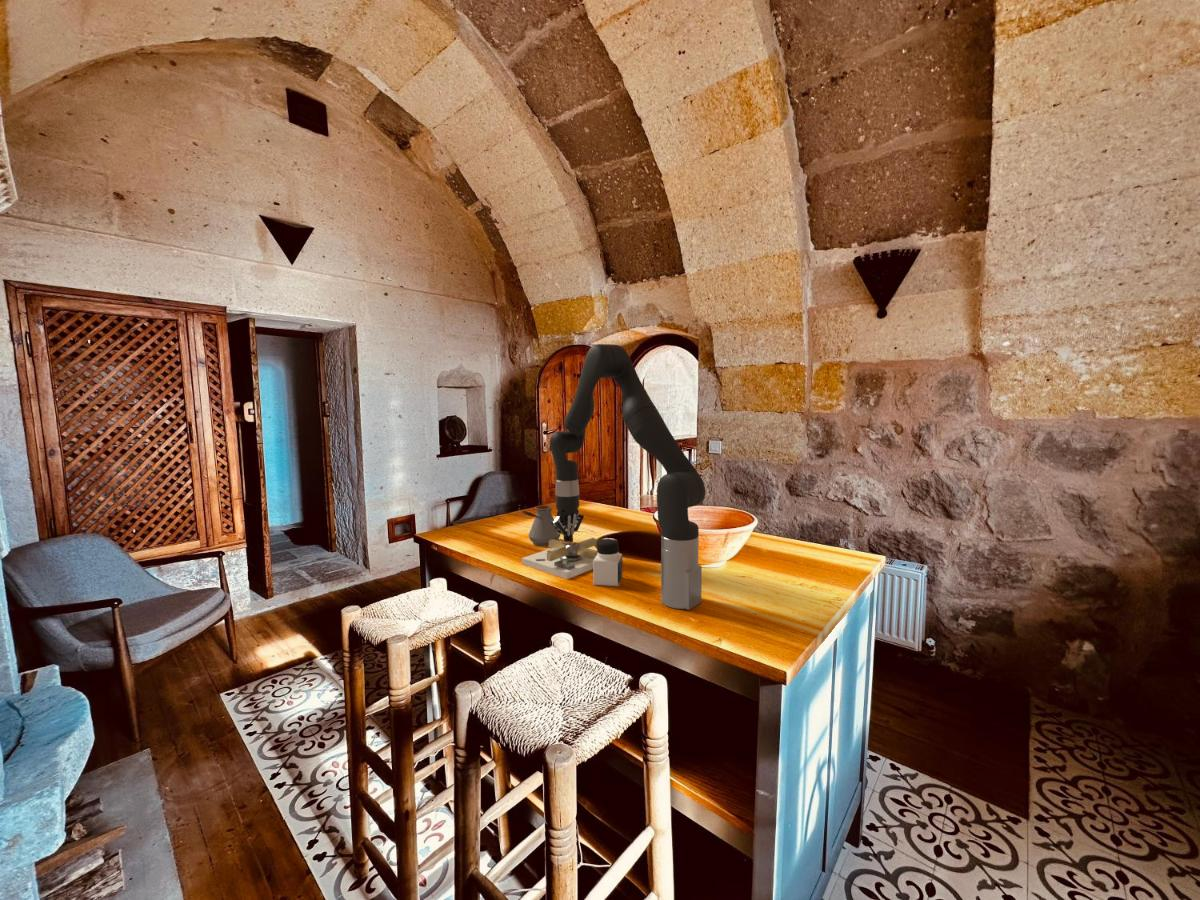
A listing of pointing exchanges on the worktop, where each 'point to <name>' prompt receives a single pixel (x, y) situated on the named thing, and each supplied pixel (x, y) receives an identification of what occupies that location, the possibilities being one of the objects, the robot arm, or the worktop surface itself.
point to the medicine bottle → (607, 563)
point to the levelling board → (558, 565)
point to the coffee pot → (542, 526)
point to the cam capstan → (571, 550)
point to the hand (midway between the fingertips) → (568, 545)
